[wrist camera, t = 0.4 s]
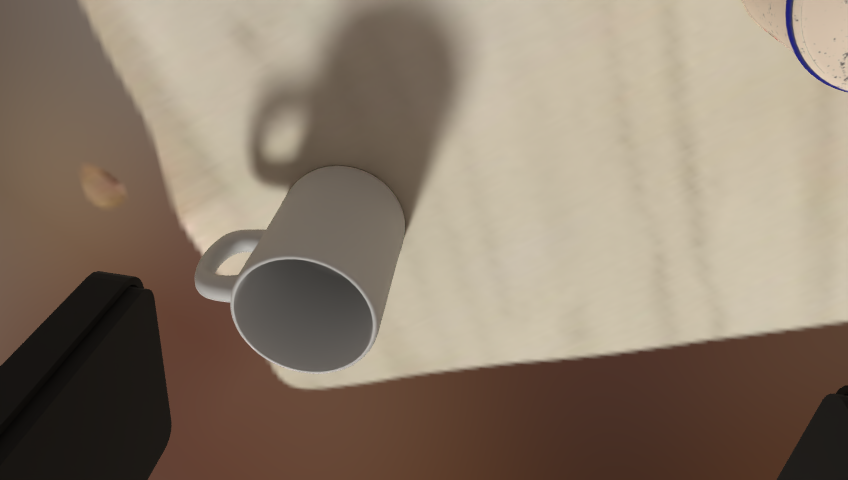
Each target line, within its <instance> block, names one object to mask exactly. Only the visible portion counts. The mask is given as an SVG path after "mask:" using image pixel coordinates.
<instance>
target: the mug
mask: <svg viewBox="0 0 848 480" xmlns="http://www.w3.org/2000/svg"><path fill="white" fill-rule="evenodd" d="M404 235H405V219H404V214H403V210H402V208H401V205H400V203H399V201H398V199H397V198H396V196H395V195H394V193H393V192H392V191H391V190H390V189H389V188H388V186H387V185H386V184H384V183H383V182H382V181H381V180H379V179H378V178H376V177H375V176H373V175H371V174H369V173H367V172H365V171H363V170H360V169H357V168H353V167H348V166H328V167H323V168H319V169H316V170H314V171H311V172H309V173H308V174H306V175H304V176H303V177H302V178H300V179H299V180H298V181H297V182H296V183H295V184H294V185H293V186H292V188H291V189H290V191H289V192H288V194H287V195H286V197H285V199H284V200H283V202H282V204H281V206H280V208H279V209H278V211H277V213H276V214H275V216H274V218H273V219H272V221H271V223H270V224H269V226H268V228H267V229H266V230H239V231H234V232H231V233H228V234H226V235H224V236H223V237H221V238H220V239H218V240H217V241H216V242H215V243H214V244H213V245H212V246H211V247H210V248H209V249H208V250H207V251H206V252H205V253H204V255H203V256H202V258H201V260H200V261H199V264H198V266H197V269H196V273H195V286H196V288H197V290H198V292H199V293H200V294H201V295H203V296H204V297H206V298H208V299H211V300H216V301H223V302H230V306H231V313H232V317H233V321H234V323H235V325H236V328H237V329H238V331H239V333H240V334H241V336H242V337H243V338H244V340H245V341H246V342H247V343H248V344H249V345H250V346H251V347H252V349H254V350H255V351H256V352H257V353H258V354H260V355H261V356H263V357H264V358H266V359H267V360H269V361H271V362H272V363H274V364H276V365H279V366H281V367H283V368H287V369H290V370H293V371H297V372H302V373H312V374H322V373H331V372H336V371H339V370H342V369H345V368H347V367H350V366H352V365H353V364H355V363H357V362H358V361H359V360H361V359H362V358H363V357H364V356H365V355H366V354H367V353H368V351H369V350H370V349H371V347H372V346H373V344H374V342H375V339H376V337H377V334H378V331H379V328H380V324H381V320H382V316H383V313H384V309H385V305H386V301H387V298H388V294H389V290H390V286H391V282H392V279H393V275H394V271H395V267H396V264H397V260H398V257H399V254H400V251H401V248H402V244H403V240H404ZM242 252H252V254H251V255H250V257H249V258H248V260H247V262H246V263H245V265H244V267H243V268H242V270H241V272H240V273H239V275H231V276H224V275H217V274H215V272H216V270H217V269H218V268H219V266H220V265H221V264H222V263H223V262H224V261H225V260H226V259H227V258H229V257H230V256H232V255H235V254H237V253H242Z"/></svg>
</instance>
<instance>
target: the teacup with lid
mask: <svg viewBox="0 0 848 480" xmlns="http://www.w3.org/2000/svg"><path fill="white" fill-rule="evenodd" d="M742 2H743V4H744V7H745V9H746V10H747V12H748V14H749V15H750V16H751V18H752V19H753V20H754V21H755V22H756V23H757V24H758V25H759V26H760V27H761V28H763V29H764V30H765V31H766V32H768V33H769V34H770V35H772V36H773V37H774V38H775V39H777V40H778V41H779V42H781V43H782V44H783V45H784V46H786V47H787V48H788V49H790V50H791V51H792V52H793V53H795V55H796V56H797V58H798V60H799V61H800V62H801V64H802V65H803V66H804V68H805V69H806V70H807V71H808V72H809V73H810V74H812V75H813V76H814V77H815V78H817V79H818V80H820V81H821V82H823V83H825V84H826V85H828V86H831V87H833V88H835V89H838V90H841V91H844V92H848V0H742Z"/></svg>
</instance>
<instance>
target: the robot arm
mask: <svg viewBox="0 0 848 480" xmlns="http://www.w3.org/2000/svg"><path fill="white" fill-rule="evenodd" d="M170 432H171V416H170V408H169V401H168V394H167V387H166V379H165V372H164V365H163V358H162V351H161V343H160V336H159V329H158V322H157V314H156V308H155V300H154V295H153V293H152V291H151V290H149V289H144V287H143V284H142V282H141V280H140V279H139V278H137V277H133V276H127V275H120V274H113V273H107V272H100V271H97V272H93V273H92V274H91V275H89V276H88V277H87V278H86V279H85V280H84V281H83V282H82V283H81V284H80V285H79V286H78V287H77V288H76V289H75V290H74V291H73V292H72V293H71V294H70V296H68V298H67V299H66V300H65V301H64V302H63V303H62V304H61V305H60V306H59V307H58V308H57V309H56V310H55V311H54V312H53V313H52V314H51V315H50V316H49V317H48V318H47V319H46V320H45V321H44V322H43V323H42V324H41V325H40V326H39V327H38V328H37V329H36V330H35V331H34V332H33V333H32V335H31V336H30V337H29V338H28V339H27V340H26V341H25V342H24V343H23V344H22V345H21V346H20V347H19V348H18V349H17V350H16V351H15V352H14V353H13V354H12V355H11V356H10V357H9V358H8V359H7V360H6V361H5V362H4V363H3V364H2V365H1V366H0V480H148V478H149V476H150V474H151V473H152V471H153V469H154V467H155V466H156V464H157V462H158V460H159V459H160V457H161V455H162V453H163V452H164V450H165V448H166V446H167V443H168V440H169V437H170ZM777 480H848V386H844V387H842V388H840V389H839V390H838V391H837V393H836V394H829V395H827V396H826V397H825V398H824V399H823V400H822V402H821V404H820V406H819V407H818V409H817V411H816V412H815V414H814V416H813V418H812V419H811V421H810V423H809V425H808V426H807V428H806V430H805V432H804V433H803V435H802V437H801V439H800V440H799V442H798V444H797V446H796V447H795V449H794V451H793V452H792V454H791V456H790V458H789V459H788V461H787V463H786V464H785V466H784V468H783V470H782V471H781V473H780V475H779V477H778V478H777Z"/></svg>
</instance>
